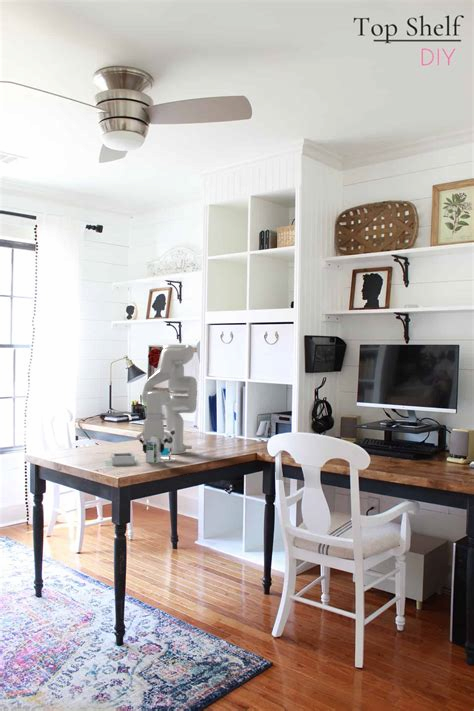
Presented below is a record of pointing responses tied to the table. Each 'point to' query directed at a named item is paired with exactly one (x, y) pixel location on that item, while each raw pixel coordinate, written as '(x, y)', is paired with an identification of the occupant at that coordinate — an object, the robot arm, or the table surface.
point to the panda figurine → (168, 447)
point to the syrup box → (153, 450)
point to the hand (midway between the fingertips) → (153, 452)
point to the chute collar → (122, 458)
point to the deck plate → (108, 463)
